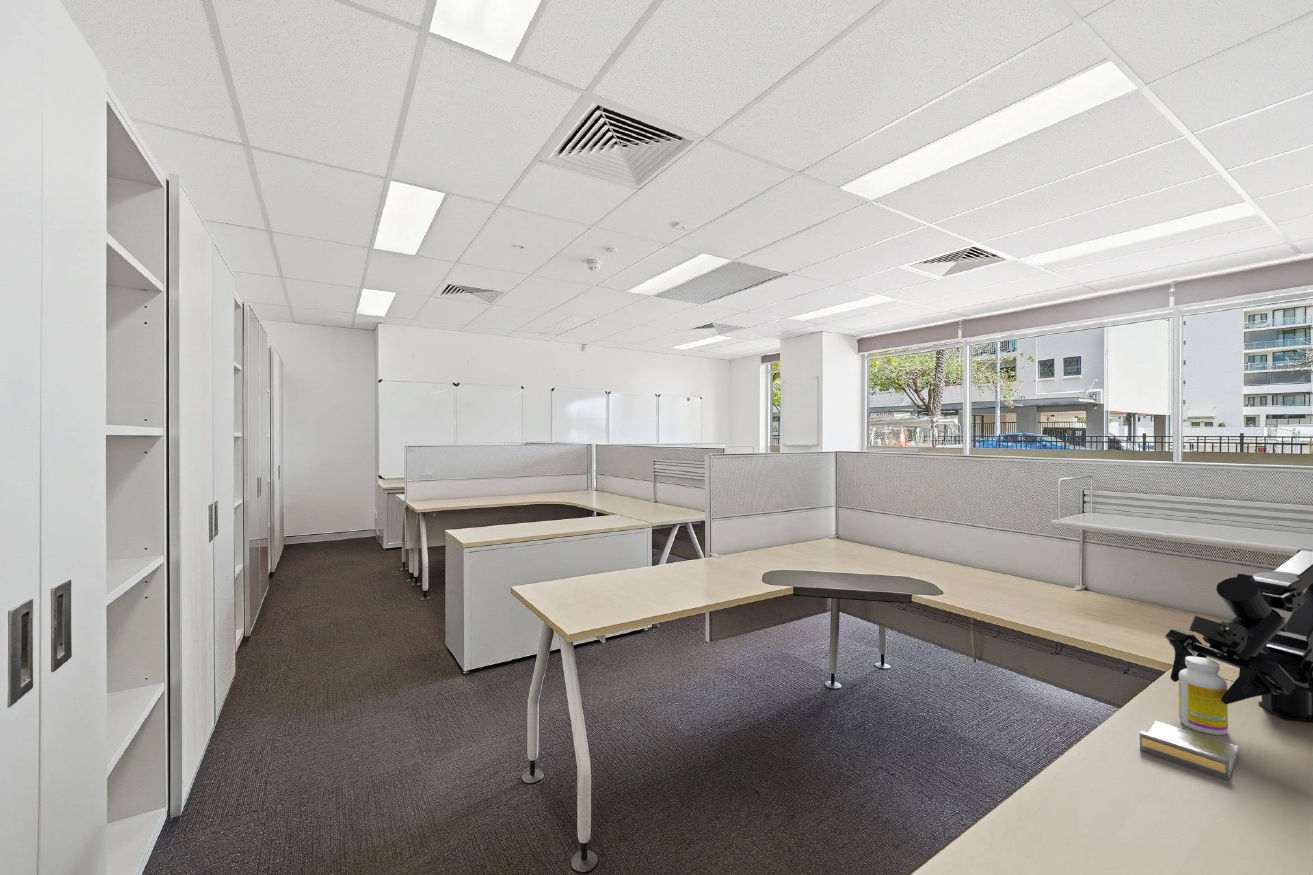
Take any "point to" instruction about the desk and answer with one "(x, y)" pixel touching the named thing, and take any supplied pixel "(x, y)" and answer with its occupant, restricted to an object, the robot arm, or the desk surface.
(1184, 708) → the supplement bottle
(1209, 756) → the grey metal slab
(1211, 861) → the desk surface
